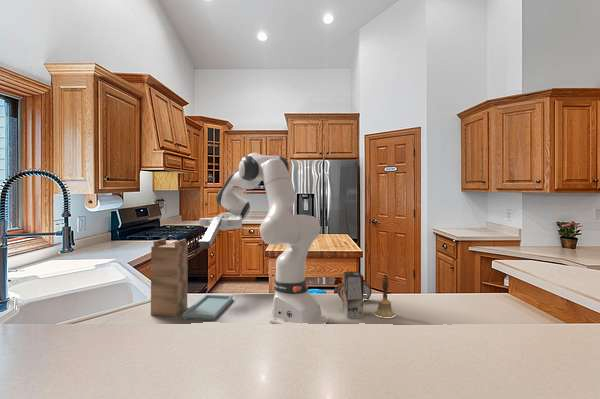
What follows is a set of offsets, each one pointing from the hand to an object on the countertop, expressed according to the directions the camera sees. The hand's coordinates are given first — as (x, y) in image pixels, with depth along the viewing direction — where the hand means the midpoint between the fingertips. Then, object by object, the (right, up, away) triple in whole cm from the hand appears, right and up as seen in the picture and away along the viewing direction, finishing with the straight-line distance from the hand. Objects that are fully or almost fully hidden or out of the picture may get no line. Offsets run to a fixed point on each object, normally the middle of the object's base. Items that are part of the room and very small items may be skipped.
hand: (215, 223), depth 157 cm
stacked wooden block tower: (-13, -33, -23) cm, 42 cm away
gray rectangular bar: (0, -5, -4) cm, 6 cm away
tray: (+2, -33, -20) cm, 38 cm away
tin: (+63, -34, -5) cm, 72 cm away
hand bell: (+72, -35, -23) cm, 84 cm away
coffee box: (+60, -34, -23) cm, 73 cm away
